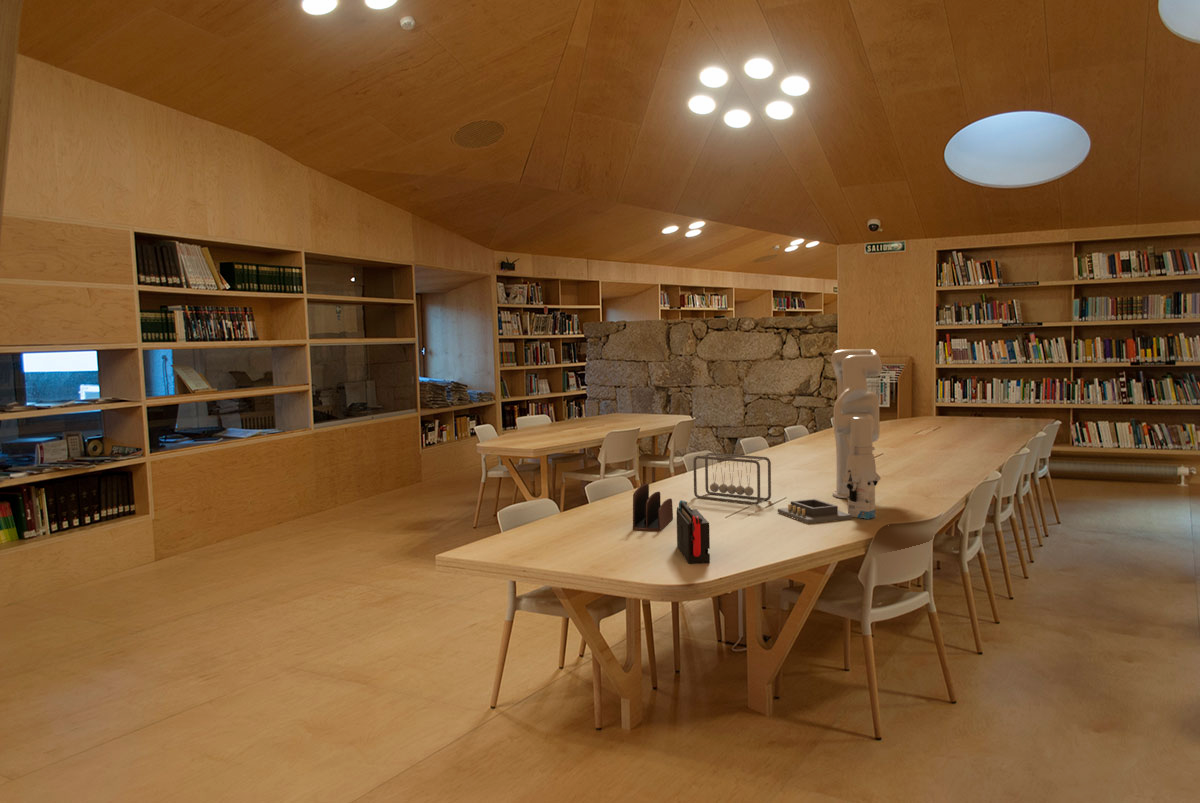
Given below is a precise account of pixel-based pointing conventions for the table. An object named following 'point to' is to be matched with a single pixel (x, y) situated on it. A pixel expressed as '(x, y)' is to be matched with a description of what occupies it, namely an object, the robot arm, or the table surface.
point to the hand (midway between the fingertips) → (861, 499)
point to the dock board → (813, 511)
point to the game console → (692, 534)
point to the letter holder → (650, 510)
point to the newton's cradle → (731, 488)
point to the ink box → (863, 501)
